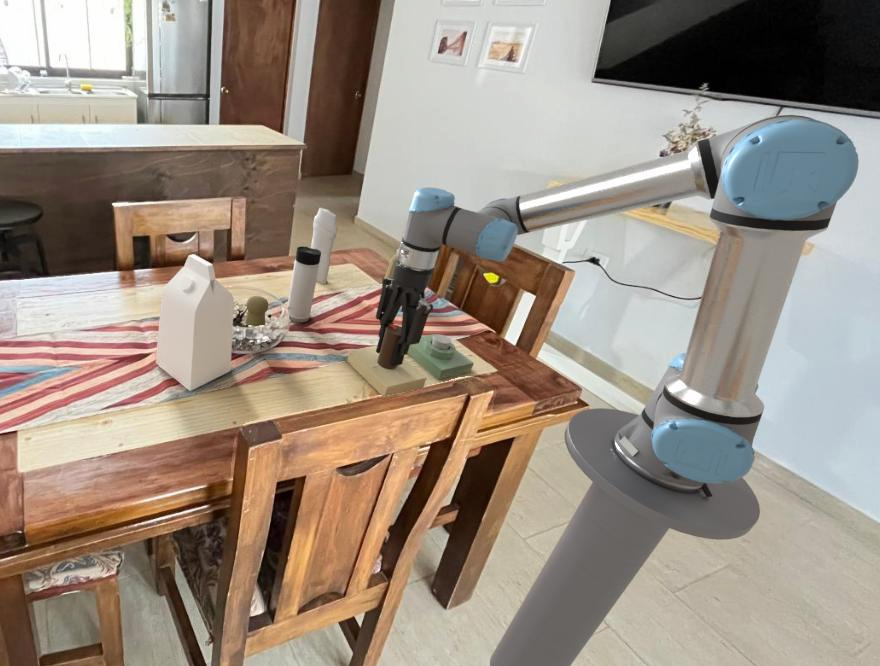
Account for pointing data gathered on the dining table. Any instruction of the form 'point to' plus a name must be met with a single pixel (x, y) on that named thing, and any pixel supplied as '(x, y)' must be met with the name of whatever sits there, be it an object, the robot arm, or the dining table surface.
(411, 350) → the green slab
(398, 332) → the brown upright cylinder
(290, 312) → the travel mug
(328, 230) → the white rounded cylinder
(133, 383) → the dining table surface
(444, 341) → the grey rounded lump
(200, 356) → the milk
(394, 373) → the beige slab
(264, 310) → the cork
